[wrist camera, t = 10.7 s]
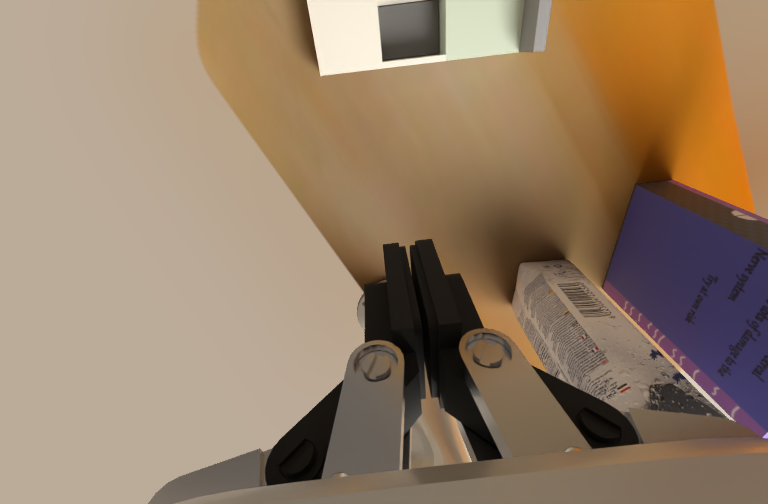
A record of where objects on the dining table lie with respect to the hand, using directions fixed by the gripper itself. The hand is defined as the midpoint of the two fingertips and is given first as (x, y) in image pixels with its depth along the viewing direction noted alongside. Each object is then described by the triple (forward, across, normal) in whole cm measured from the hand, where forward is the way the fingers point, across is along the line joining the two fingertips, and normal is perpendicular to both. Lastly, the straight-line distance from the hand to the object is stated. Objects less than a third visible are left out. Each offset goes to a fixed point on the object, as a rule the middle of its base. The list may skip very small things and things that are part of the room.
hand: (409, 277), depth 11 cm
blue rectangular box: (+29, -35, +20) cm, 50 cm away
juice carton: (+29, -22, +26) cm, 45 cm away
